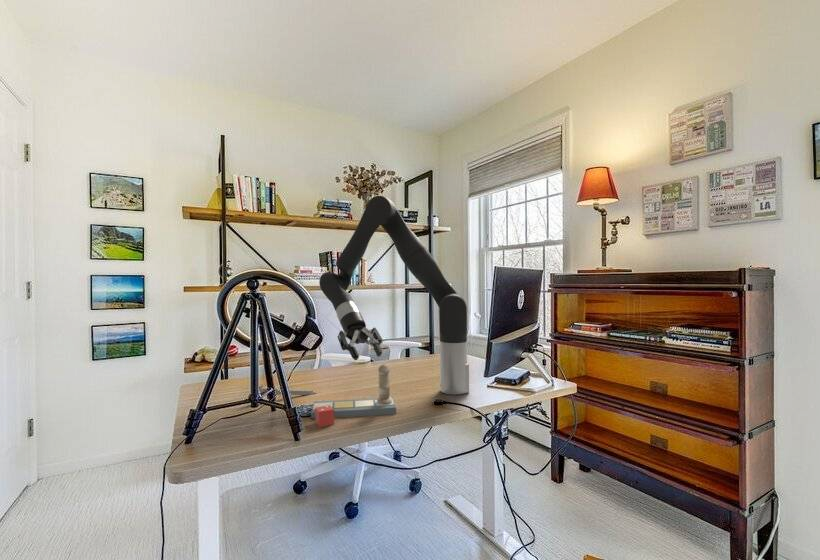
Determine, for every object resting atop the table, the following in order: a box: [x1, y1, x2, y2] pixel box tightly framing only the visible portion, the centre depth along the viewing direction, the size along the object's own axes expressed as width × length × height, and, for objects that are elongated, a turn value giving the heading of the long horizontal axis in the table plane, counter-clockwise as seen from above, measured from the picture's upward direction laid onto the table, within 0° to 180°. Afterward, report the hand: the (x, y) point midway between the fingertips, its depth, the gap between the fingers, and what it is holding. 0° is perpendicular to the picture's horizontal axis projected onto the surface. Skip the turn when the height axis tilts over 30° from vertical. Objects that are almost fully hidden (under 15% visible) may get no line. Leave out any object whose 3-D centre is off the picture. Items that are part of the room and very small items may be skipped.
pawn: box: [376, 364, 393, 404], centre depth 120 cm, size 4×4×11 cm
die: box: [314, 405, 335, 428], centre depth 109 cm, size 4×4×4 cm
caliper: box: [259, 384, 317, 397], centre depth 132 cm, size 20×1×6 cm, turn 125°
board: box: [310, 396, 397, 419], centre depth 119 cm, size 24×10×2 cm, turn 98°
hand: (368, 356), depth 127 cm, fingers open, 8 cm apart
